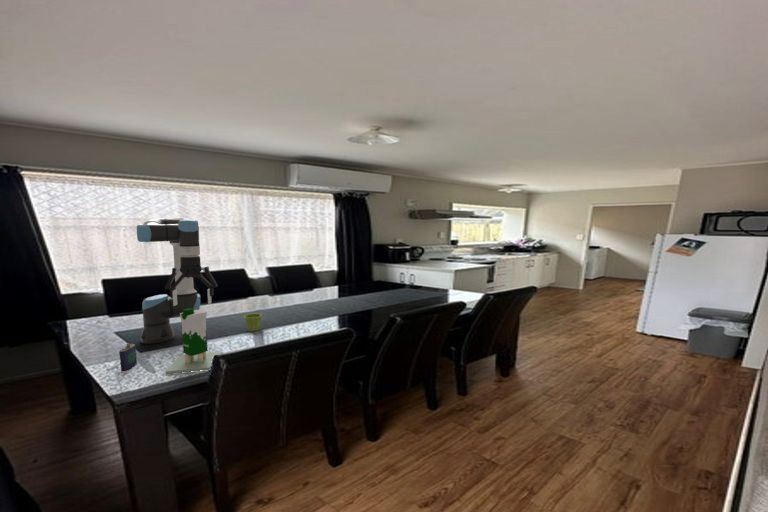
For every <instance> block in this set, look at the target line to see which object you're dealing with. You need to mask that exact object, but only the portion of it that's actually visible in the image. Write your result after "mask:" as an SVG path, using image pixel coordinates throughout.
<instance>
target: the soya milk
mask: <svg viewBox="0 0 768 512" xmlns="http://www.w3.org/2000/svg"><path fill="white" fill-rule="evenodd" d="M207 313H208V312H207V311H204V310H201V309H199V310H194V308H185V309H183V313H180V317H179V318H180V321H181V333H182V352H183V353H182V354H184V355H185V354H188V355H190V356H194V355H197V354H200V353H203V352H206V353H207V352H208V333H207V332H208V331H207Z"/></svg>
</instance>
